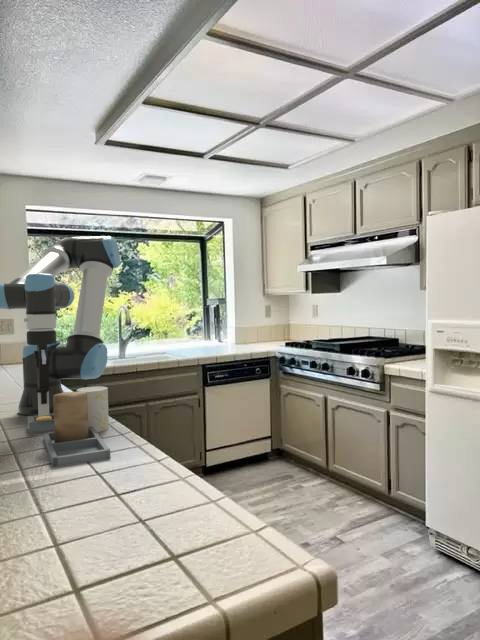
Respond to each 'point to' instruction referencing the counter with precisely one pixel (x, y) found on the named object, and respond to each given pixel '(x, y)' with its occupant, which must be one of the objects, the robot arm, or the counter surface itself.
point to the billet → (70, 416)
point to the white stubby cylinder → (97, 407)
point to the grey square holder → (40, 424)
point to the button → (43, 418)
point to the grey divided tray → (76, 449)
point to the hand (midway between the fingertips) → (43, 414)
